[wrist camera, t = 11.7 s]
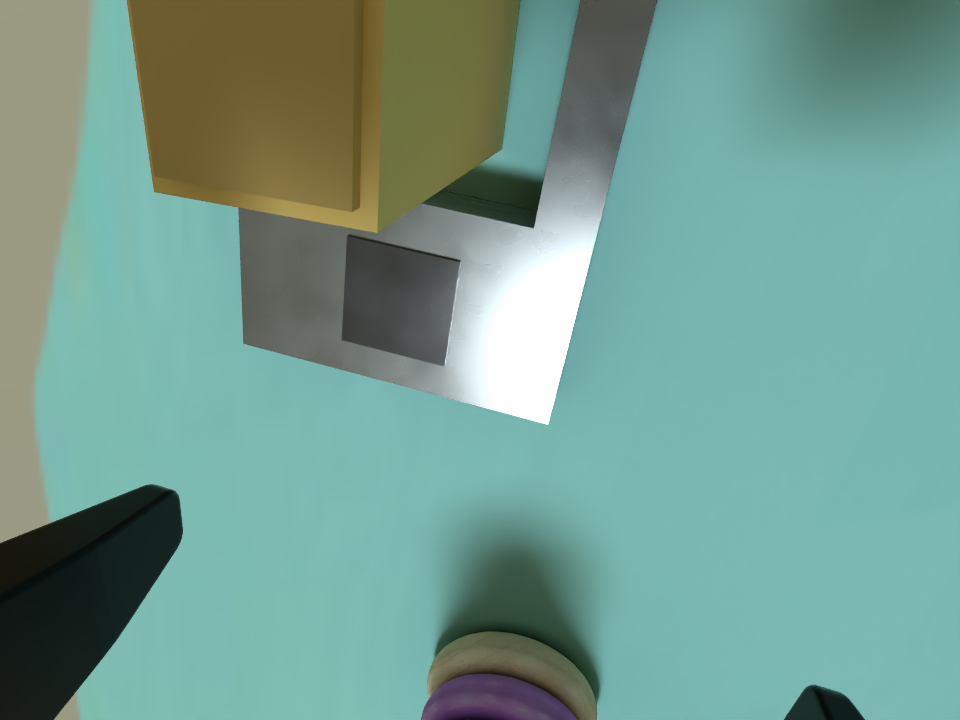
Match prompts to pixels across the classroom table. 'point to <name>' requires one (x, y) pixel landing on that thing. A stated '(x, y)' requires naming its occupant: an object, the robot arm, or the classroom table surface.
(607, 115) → the grey metal flat frame
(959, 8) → the classroom table surface
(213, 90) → the yellow square block
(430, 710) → the stacking toy
